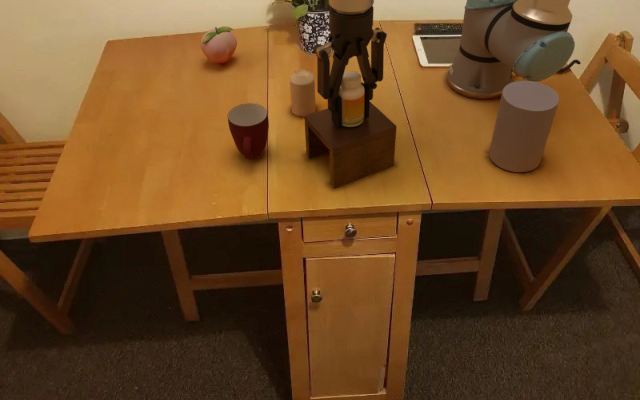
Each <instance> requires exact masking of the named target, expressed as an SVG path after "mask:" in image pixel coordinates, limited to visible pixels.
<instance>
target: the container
mask: <svg viewBox="0 0 640 400" xmlns="http://www.w3.org/2000/svg"><path fill="white" fill-rule="evenodd" d="M559 103H560V96H559V94H558V92H557V91H556V90H555V89H554V88H553V87H551V86H549V85H546V84H544V83H542V82H539V81H537V82H534V81H528V80H517V81H513V82H512V83H510V84H508V85H506V86H505V87H504V89H503V92H502V96H501V97H500V101H499V105H498V110H497V113H496V119H495V123H494V127H493V132H492V135H491V136H492V137H491V142H490V145H489V150H488V156H489V159H490V160H491V162H492V163H493V164H495V165H496V166H497V167H499V168H501V169H503V170H506V171H508V172H513V173H526V172H532V171H533V170H535V169H537V168H538V167H539V166H540V163H541V162H542V158H543V155H544V151H545V148H546V145H547V142H548V138H549V135H550V132H551V128H552V125H553V123H554V118H555V116H556V112H557V109H558V106H559Z"/></svg>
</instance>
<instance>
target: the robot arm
mask: <svg viewBox="0 0 640 400" xmlns="http://www.w3.org/2000/svg"><path fill="white" fill-rule="evenodd" d="M570 2H571V0H466V3H465V6H464V13H463V20H462V29H461V34H460V42H459V48H458V52H457V53H456V55H455V57H454V59H453V62H452V63H451V64H450V65H449V67H448V71H447V75H446V76H447V77H446V82H447V85H448V87H449V88H450V89H451V90H452V91H454V93H457V94H459V95H461V96H462V97H466V98H470V99H475V100H492V99H493V100H494V99H498V98H501V96H502V92H503V89H504V87H505V86H506V85H508V84H510V83H512V82H514V76H513V73H514V75H516V76H519V77H521V78H522V79H524V80H525V81H534V82H542V81H545V80H547V79H549V78H551V77H552V76H554V75H555V74H557V73H564V72H567V71H568V70H569V69H570V68H571V69H572V67H573V66H574V65H575V64H577V65H581V63H582V62H581V61H580V60H579V59H573V60H572V61H571V62H569V61H570V59H571V58H572V55H573V53H574V50H575V46H576V43H575V40H574V37H573V35H572V34H571V33H570V32H568V31H569V28H570V26H571V23H572V20H573V14H572V12H571V10H570V7H569V5H570ZM328 4H329V7H328V21H329V22H328V25H329V32H330V33H329V36H328V39H327V42H326V43H324V44H322V45H320V44H317V45H314V47H313V48H314V52H315V55H316V57H317V59H316V67H317V69H316V71H317V76H316V77H317V79H316V80H317V85H316V86H317V87H316V89H317V93H318V94H319V95H320V96H321V97H322V98H323V100H327V108H328V109H329V110H330V111H331V112H332V122H333V123H334V124H335V125H336V126H337V127H338V128H340V127H342V98H341V97H340V96H339V95H338V94H339V91H340V87H341V83H342V79H343V75H344V72H346V67H347V66H348V65H349V61H350V59H352V58H354V57H356V61H357V64H358V67H359V71H360V75H361V80H362V81H361V84H362V85H363V86H364V90H365V96H364V117H365V118H369V106H370V102H371V101H372V100H373V98H374V90H376V89H377V87H378V84H377V82H378V83H379V82H380V83H381V82H382V81H383V80H384V60H385V59H384V58H385V57H384V55H385V53H384V51H385V43H386V39H387V37H388V34H387V33H386V32H385V31H384V30H382V29H381V28H380V27H375V28H374V29H373V27H374V4H375V0H328ZM369 44H370V54H369V50H368V45H369ZM332 50H333V54H331V51H332ZM331 57H332V64H331V61H330V58H331ZM369 58H370V59H369ZM568 62H569V64H568V65H566V64H567V63H568ZM565 65H566V66H565Z"/></svg>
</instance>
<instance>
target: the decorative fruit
mask: <svg viewBox="0 0 640 400" xmlns="http://www.w3.org/2000/svg"><path fill="white" fill-rule="evenodd" d="M233 30H234V28H232V27H230V26H220V27H217V26H215V27H214V28H212V29H209V30H208V31H207V32H205V33H204V34H203V35H202V38H201V40H200V49H201V51H202V53H203V55H204V56H205V57H206V59H207V60H209V62H212V63H214V64H224V63H225V62H227V61H229V60H230V59H231V58H232V57H233V56H234V54H235V52H236V49H237V46H238V41H237V38H236V36H235V35H234V33H232V32H231V31H233Z"/></svg>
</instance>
